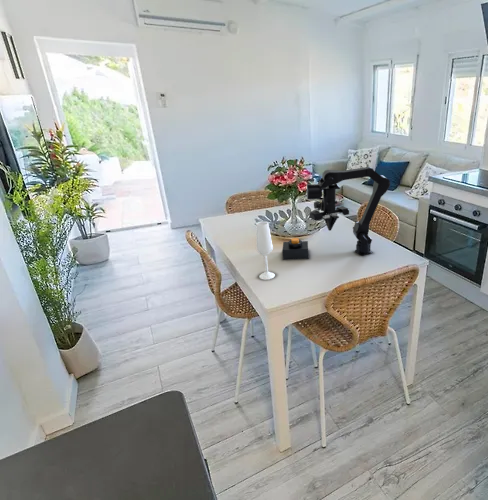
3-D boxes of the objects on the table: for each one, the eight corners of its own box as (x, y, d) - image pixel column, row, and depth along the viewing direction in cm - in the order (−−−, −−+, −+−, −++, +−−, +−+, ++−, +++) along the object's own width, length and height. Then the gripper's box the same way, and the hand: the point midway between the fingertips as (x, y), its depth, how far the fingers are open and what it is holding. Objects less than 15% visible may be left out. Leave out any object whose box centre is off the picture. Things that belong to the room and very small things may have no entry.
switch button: (299, 241, 170) (298, 237, 169) (299, 243, 166) (298, 240, 166) (291, 241, 169) (291, 238, 169) (291, 244, 166) (291, 240, 165)
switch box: (308, 250, 176) (307, 237, 173) (308, 258, 167) (308, 245, 164) (284, 251, 174) (283, 238, 171) (283, 259, 165) (282, 246, 162)
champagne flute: (256, 275, 150) (250, 223, 140) (269, 270, 155) (264, 219, 145) (265, 281, 146) (260, 227, 136) (278, 275, 150) (274, 223, 141)
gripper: (337, 192, 170) (337, 222, 177) (303, 197, 161) (304, 228, 167) (350, 197, 162) (349, 228, 168) (314, 202, 152) (315, 236, 159)
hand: (329, 230), depth 166 cm, fingers closed
